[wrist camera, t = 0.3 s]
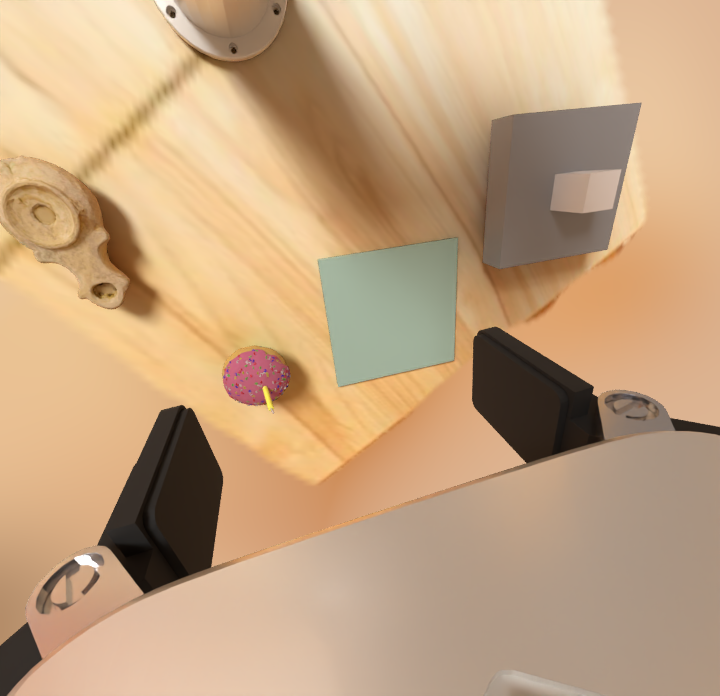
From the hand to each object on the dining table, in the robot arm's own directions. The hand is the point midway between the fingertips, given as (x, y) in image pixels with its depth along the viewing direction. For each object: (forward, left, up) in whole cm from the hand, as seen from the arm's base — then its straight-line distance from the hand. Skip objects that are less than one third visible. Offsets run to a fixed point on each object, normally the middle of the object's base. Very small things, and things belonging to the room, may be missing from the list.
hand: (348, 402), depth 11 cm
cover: (-2, +34, -33) cm, 48 cm away
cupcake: (+16, -8, -36) cm, 41 cm away
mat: (+13, +13, -36) cm, 41 cm away
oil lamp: (-4, -22, -37) cm, 43 cm away
